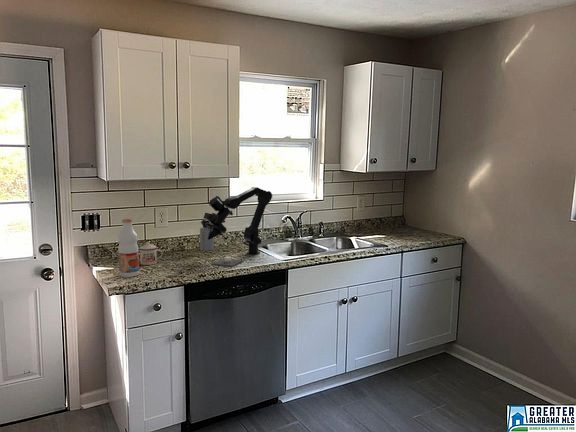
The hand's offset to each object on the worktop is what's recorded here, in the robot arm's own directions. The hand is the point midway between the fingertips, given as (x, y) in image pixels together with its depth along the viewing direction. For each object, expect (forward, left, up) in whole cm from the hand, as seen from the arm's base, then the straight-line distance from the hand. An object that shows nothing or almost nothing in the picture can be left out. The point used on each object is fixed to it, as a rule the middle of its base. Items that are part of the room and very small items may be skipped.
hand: (204, 238), depth 264 cm
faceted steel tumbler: (-1, +1, -7) cm, 7 cm away
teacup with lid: (+15, -25, -14) cm, 32 cm away
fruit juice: (+39, -19, -14) cm, 46 cm away
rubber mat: (-2, +13, -13) cm, 19 cm away
